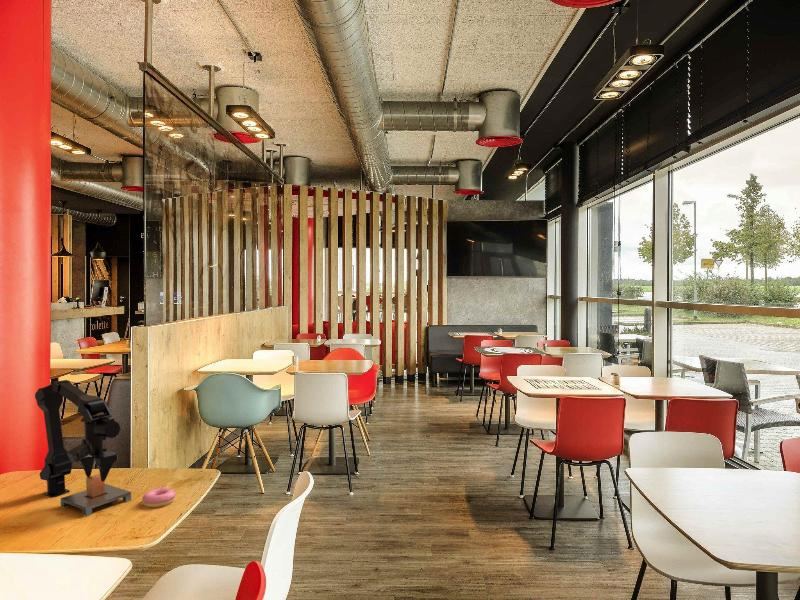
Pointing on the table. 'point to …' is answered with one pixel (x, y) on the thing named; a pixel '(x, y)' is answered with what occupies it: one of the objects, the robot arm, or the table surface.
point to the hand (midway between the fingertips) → (95, 479)
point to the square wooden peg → (95, 486)
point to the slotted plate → (95, 499)
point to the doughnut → (158, 497)
